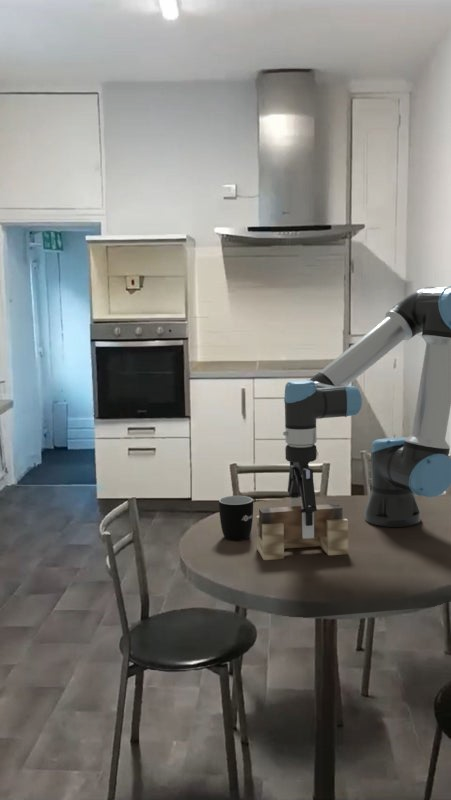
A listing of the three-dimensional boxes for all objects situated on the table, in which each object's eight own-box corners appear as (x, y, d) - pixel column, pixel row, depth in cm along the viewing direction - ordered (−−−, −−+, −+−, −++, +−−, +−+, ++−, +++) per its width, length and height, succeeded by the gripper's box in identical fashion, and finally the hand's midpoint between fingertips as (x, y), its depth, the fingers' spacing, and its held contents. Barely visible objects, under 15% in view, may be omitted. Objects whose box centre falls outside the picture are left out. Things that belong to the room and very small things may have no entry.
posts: (338, 542, 206) (337, 510, 204) (348, 553, 197) (348, 520, 196) (257, 548, 203) (256, 515, 202) (263, 560, 194) (263, 525, 193)
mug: (243, 544, 206) (242, 506, 205) (213, 539, 211) (212, 502, 210) (265, 531, 217) (264, 495, 215) (236, 527, 221) (235, 491, 220)
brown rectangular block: (337, 530, 203) (337, 503, 202) (342, 535, 199) (342, 507, 198) (259, 536, 200) (259, 508, 199) (262, 540, 196) (262, 512, 195)
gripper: (275, 436, 208) (276, 517, 211) (297, 455, 184) (298, 546, 187) (303, 434, 209) (304, 515, 212) (329, 453, 185) (330, 544, 188)
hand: (301, 530), depth 199 cm, fingers open, 12 cm apart
